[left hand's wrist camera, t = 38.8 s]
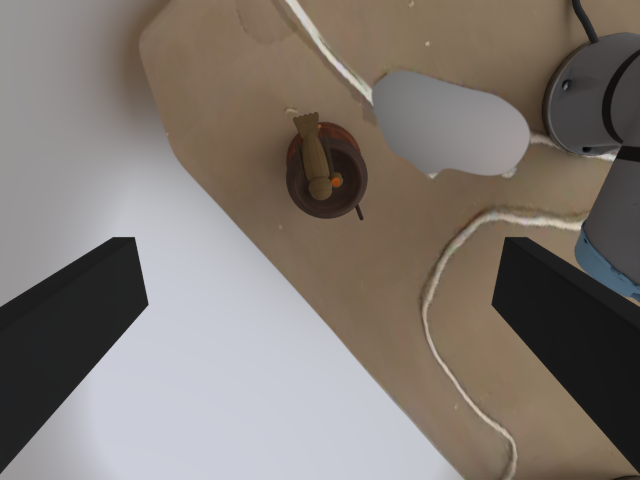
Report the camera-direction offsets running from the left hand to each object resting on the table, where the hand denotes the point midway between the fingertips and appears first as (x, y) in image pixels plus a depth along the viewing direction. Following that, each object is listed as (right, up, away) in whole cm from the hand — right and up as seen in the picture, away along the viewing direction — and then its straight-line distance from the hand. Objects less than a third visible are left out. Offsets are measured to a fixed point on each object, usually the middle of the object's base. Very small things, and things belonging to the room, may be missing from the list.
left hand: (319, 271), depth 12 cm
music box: (+1, +13, +39) cm, 41 cm away
